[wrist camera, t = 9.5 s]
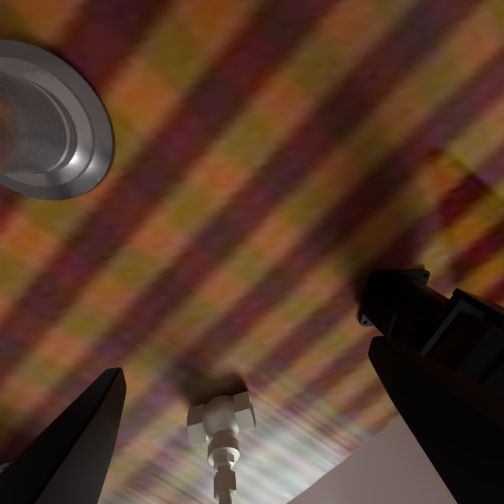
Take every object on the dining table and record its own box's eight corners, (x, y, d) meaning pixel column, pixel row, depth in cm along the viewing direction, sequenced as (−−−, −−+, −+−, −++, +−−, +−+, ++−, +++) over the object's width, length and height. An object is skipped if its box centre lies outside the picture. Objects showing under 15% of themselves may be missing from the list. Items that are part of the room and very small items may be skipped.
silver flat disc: (102, 54, 15) (94, 45, 14) (123, 200, 18) (117, 203, 17) (-72, 34, 13) (-98, 22, 12) (-15, 197, 16) (-32, 199, 15)
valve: (184, 388, 26) (162, 561, 14) (243, 371, 26) (265, 527, 15) (201, 425, 28) (194, 597, 17) (255, 410, 29) (281, 567, 17)
